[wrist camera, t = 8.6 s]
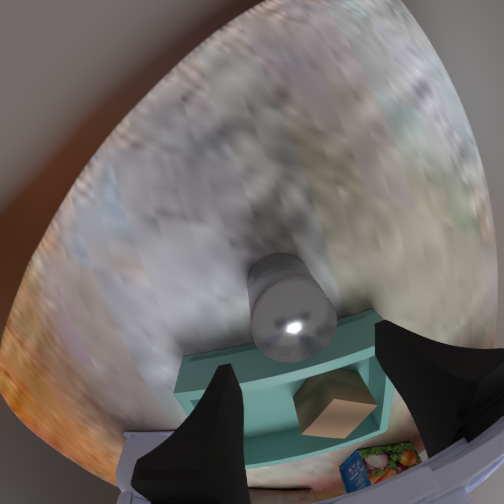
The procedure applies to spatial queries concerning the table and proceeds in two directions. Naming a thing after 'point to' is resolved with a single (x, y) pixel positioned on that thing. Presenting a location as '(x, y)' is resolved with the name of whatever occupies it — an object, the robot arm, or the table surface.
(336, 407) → the walnut cube
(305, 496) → the food item
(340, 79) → the table surface
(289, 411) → the tote
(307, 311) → the metal cylinder
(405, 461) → the blue food package
